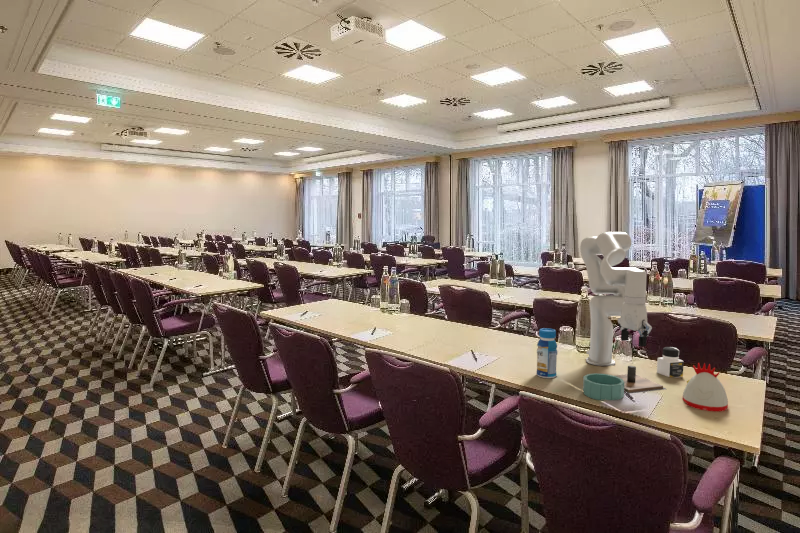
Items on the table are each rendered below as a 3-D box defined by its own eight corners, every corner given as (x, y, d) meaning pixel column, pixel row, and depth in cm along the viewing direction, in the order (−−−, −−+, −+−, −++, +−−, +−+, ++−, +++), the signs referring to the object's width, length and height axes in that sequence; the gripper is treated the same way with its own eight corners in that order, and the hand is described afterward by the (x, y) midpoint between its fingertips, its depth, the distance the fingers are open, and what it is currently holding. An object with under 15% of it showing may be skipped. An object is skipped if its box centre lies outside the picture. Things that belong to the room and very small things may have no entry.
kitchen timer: (686, 394, 186) (688, 356, 185) (729, 403, 177) (732, 362, 176) (679, 405, 175) (681, 364, 174) (725, 414, 167) (727, 372, 165)
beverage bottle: (557, 379, 204) (559, 332, 202) (536, 378, 205) (538, 331, 203) (555, 373, 212) (556, 328, 210) (535, 372, 213) (536, 327, 212)
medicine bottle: (669, 378, 204) (670, 350, 203) (656, 373, 211) (657, 346, 210) (683, 377, 206) (684, 349, 205) (669, 372, 213) (671, 345, 212)
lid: (600, 379, 202) (601, 362, 201) (633, 376, 206) (633, 359, 205) (628, 392, 186) (629, 374, 186) (663, 388, 191) (663, 371, 190)
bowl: (575, 390, 191) (576, 375, 190) (606, 386, 194) (606, 372, 194) (599, 403, 177) (600, 387, 177) (631, 399, 181) (632, 383, 180)
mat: (597, 380, 203) (597, 378, 202) (633, 376, 207) (633, 375, 207) (628, 395, 185) (628, 393, 185) (667, 390, 190) (667, 389, 190)
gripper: (611, 298, 200) (610, 339, 202) (643, 304, 184) (641, 349, 185) (627, 297, 202) (625, 338, 204) (659, 303, 186) (657, 347, 187)
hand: (633, 343), depth 194 cm, fingers open, 9 cm apart
